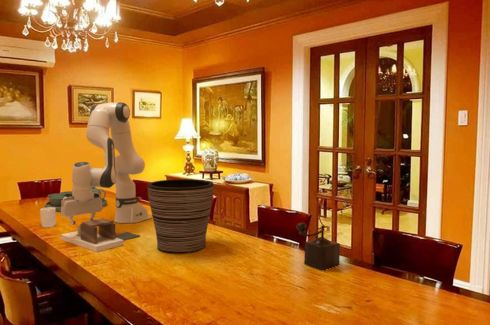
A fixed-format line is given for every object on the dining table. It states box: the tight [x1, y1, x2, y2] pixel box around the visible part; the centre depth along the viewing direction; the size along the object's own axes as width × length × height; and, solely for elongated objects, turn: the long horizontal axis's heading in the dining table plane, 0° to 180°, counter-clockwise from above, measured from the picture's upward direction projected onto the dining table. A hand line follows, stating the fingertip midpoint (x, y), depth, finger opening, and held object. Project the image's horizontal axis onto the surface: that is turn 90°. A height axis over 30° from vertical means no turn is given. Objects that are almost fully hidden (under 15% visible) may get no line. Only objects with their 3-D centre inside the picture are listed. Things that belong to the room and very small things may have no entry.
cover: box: [79, 218, 117, 244], centre depth 194 cm, size 11×12×8 cm
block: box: [77, 225, 81, 237], centre depth 202 cm, size 4×4×7 cm
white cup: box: [39, 207, 57, 228], centre depth 229 cm, size 8×8×10 cm
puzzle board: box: [60, 230, 124, 253], centre depth 198 cm, size 14×32×2 cm, turn 51°
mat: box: [116, 231, 141, 242], centre depth 208 cm, size 11×11×1 cm
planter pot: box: [147, 178, 215, 255], centre depth 190 cm, size 30×30×30 cm
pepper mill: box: [296, 222, 341, 271], centre depth 165 cm, size 16×11×18 cm
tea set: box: [44, 186, 108, 213], centre depth 285 cm, size 40×40×16 cm
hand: (82, 223), depth 201 cm, fingers open, 8 cm apart
